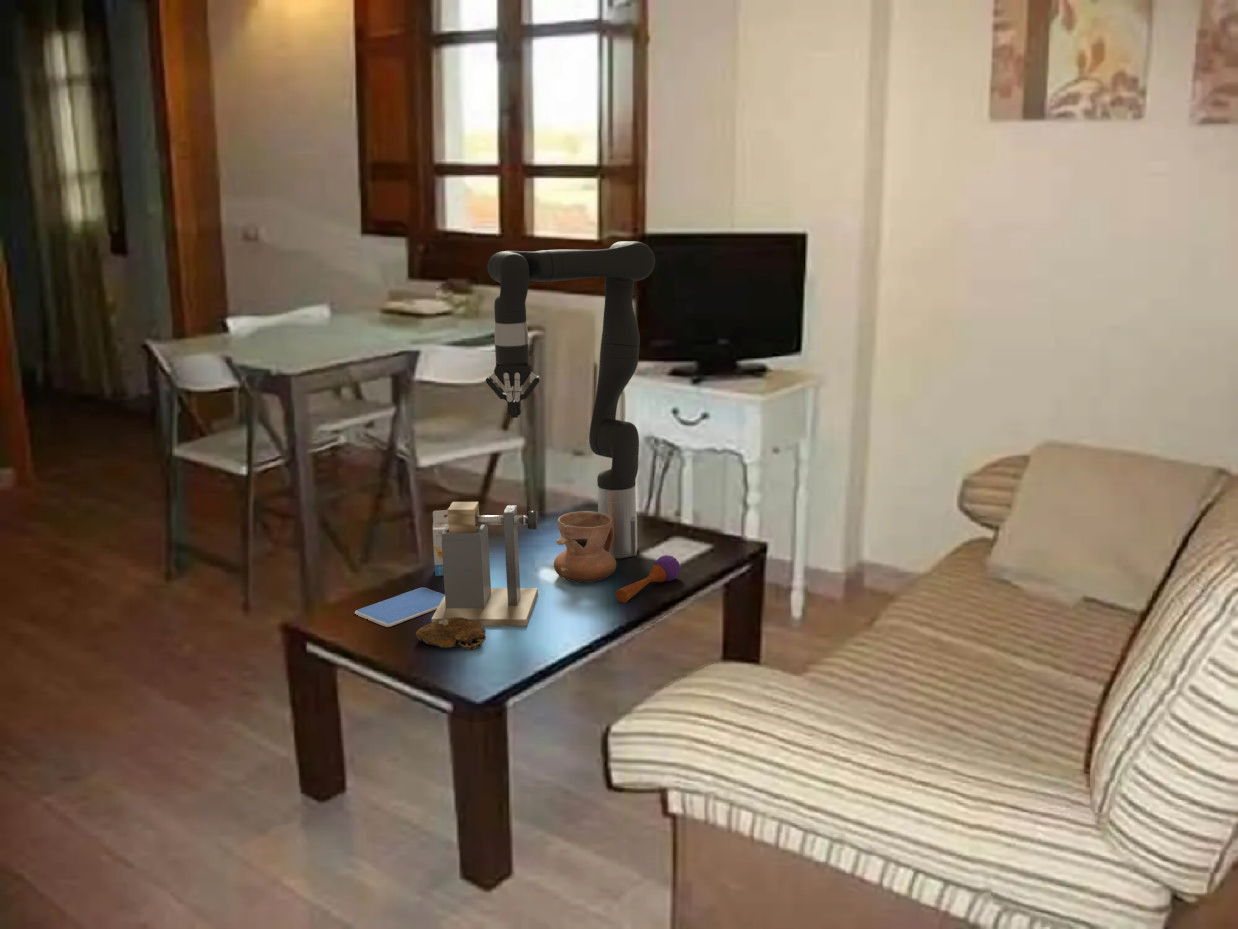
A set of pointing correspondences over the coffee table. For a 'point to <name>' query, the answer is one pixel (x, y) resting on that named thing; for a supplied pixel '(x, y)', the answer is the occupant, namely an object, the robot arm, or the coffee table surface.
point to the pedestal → (466, 568)
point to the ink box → (438, 539)
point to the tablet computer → (402, 607)
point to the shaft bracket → (512, 556)
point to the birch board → (494, 609)
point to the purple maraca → (652, 577)
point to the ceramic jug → (585, 547)
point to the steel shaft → (499, 520)
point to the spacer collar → (463, 517)
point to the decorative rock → (453, 633)
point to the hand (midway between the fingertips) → (515, 417)
